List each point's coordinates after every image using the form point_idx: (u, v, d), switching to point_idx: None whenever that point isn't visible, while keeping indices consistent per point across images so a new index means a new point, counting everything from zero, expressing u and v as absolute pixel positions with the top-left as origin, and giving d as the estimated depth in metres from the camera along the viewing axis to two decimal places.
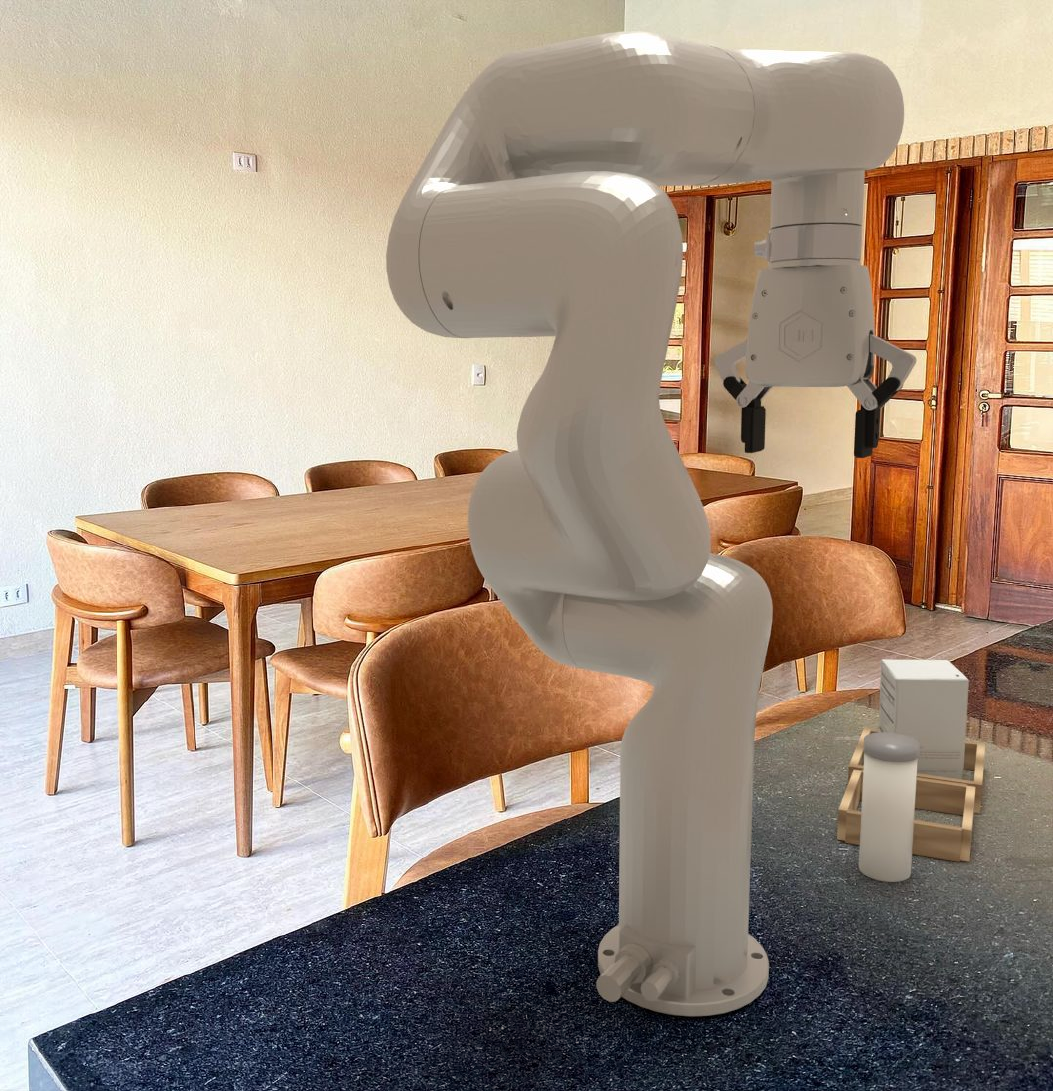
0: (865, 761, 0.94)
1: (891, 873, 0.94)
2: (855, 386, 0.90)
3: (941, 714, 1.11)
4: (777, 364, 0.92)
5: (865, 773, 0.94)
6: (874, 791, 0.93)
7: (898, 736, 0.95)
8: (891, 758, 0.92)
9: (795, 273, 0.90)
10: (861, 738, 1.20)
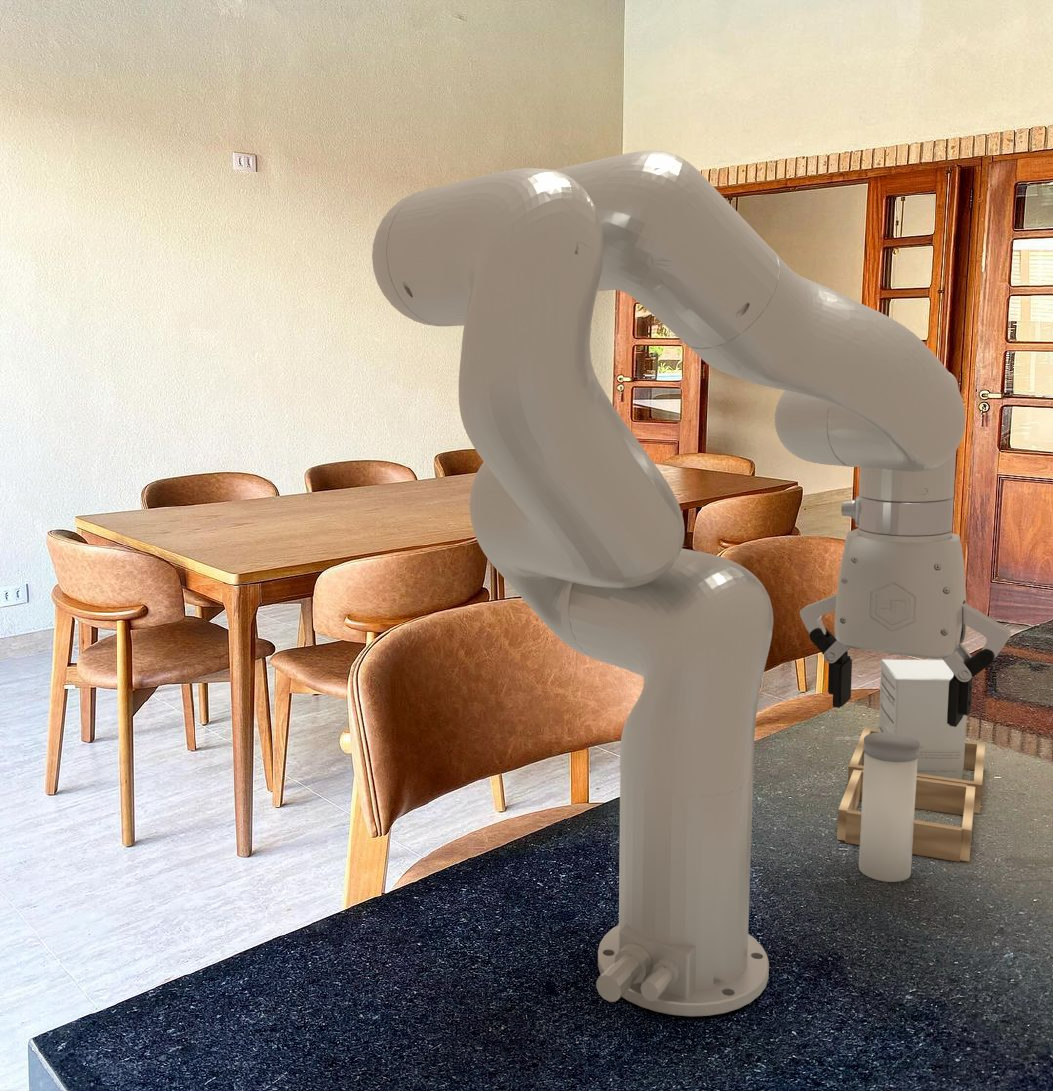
0: (865, 761, 0.94)
1: (891, 873, 0.94)
2: (948, 657, 0.90)
3: (941, 714, 1.11)
4: (868, 630, 0.91)
5: (865, 773, 0.94)
6: (874, 791, 0.93)
7: (898, 736, 0.95)
8: (892, 758, 0.92)
9: (887, 544, 0.89)
10: (861, 738, 1.20)
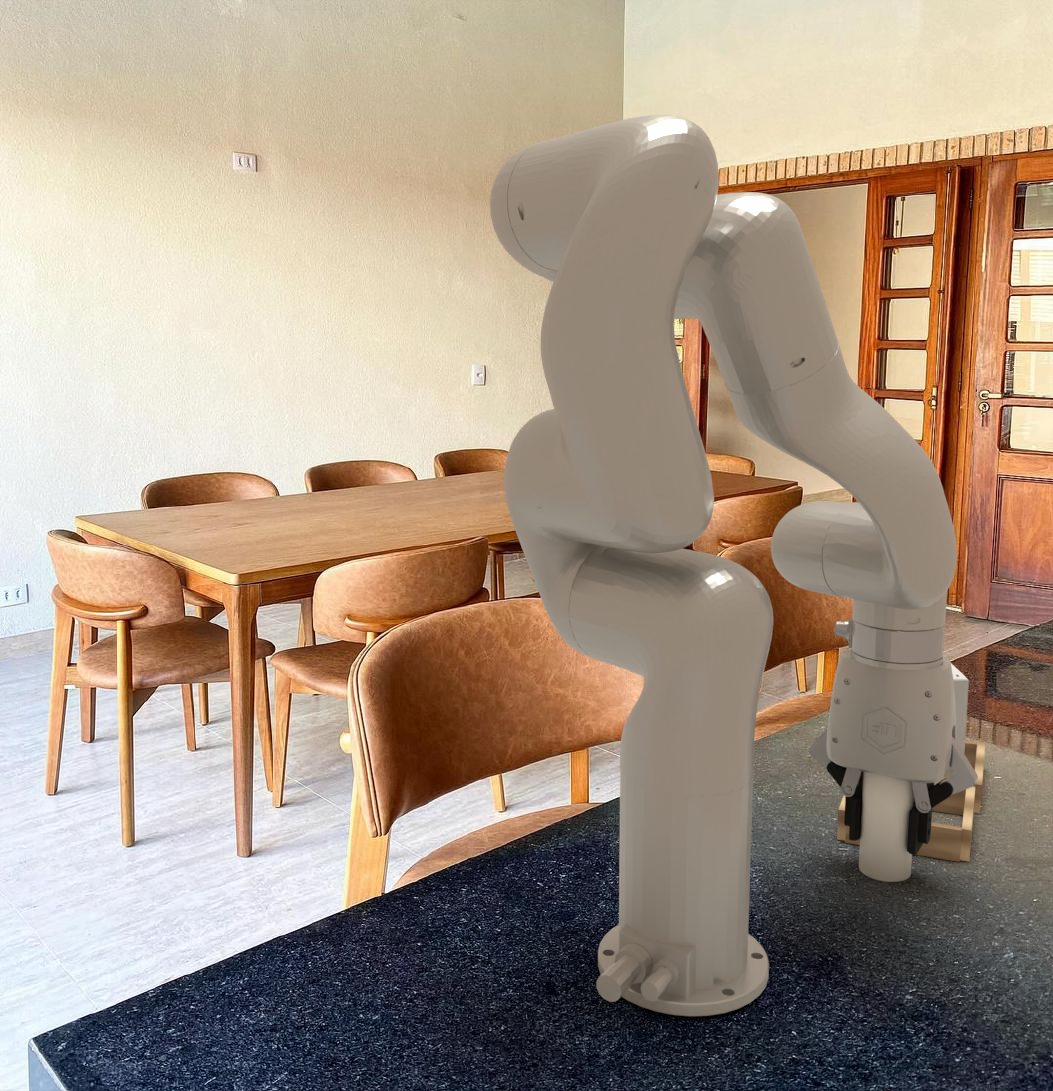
0: None
1: (891, 873, 0.94)
2: (918, 785, 0.92)
3: None
4: (859, 751, 0.93)
5: (865, 773, 0.94)
6: (874, 791, 0.93)
7: None
8: None
9: (879, 669, 0.91)
10: None
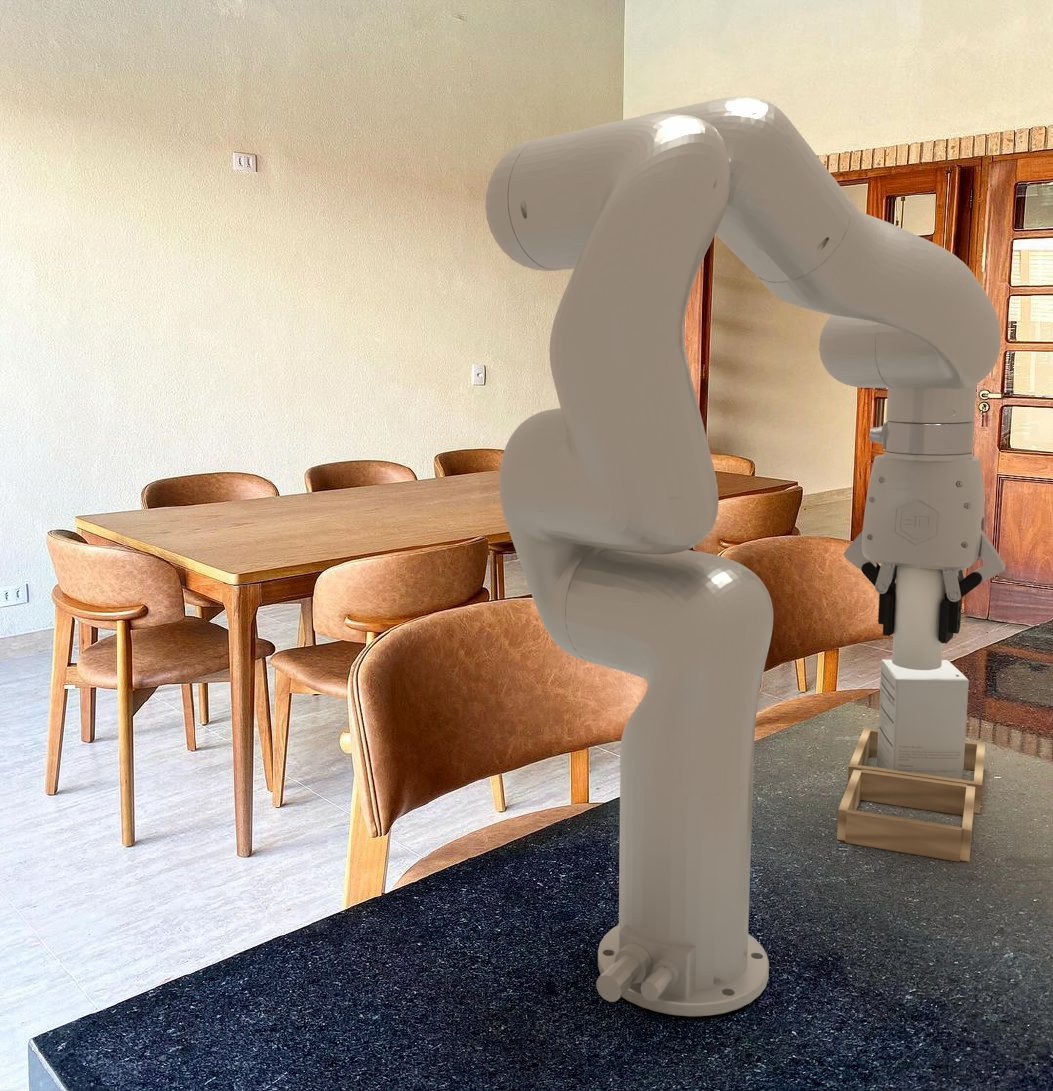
0: None
1: (923, 662, 1.00)
2: (949, 575, 0.98)
3: (941, 714, 1.11)
4: (893, 545, 0.99)
5: (898, 569, 1.00)
6: (908, 583, 0.99)
7: None
8: None
9: (912, 464, 0.97)
10: (861, 738, 1.20)
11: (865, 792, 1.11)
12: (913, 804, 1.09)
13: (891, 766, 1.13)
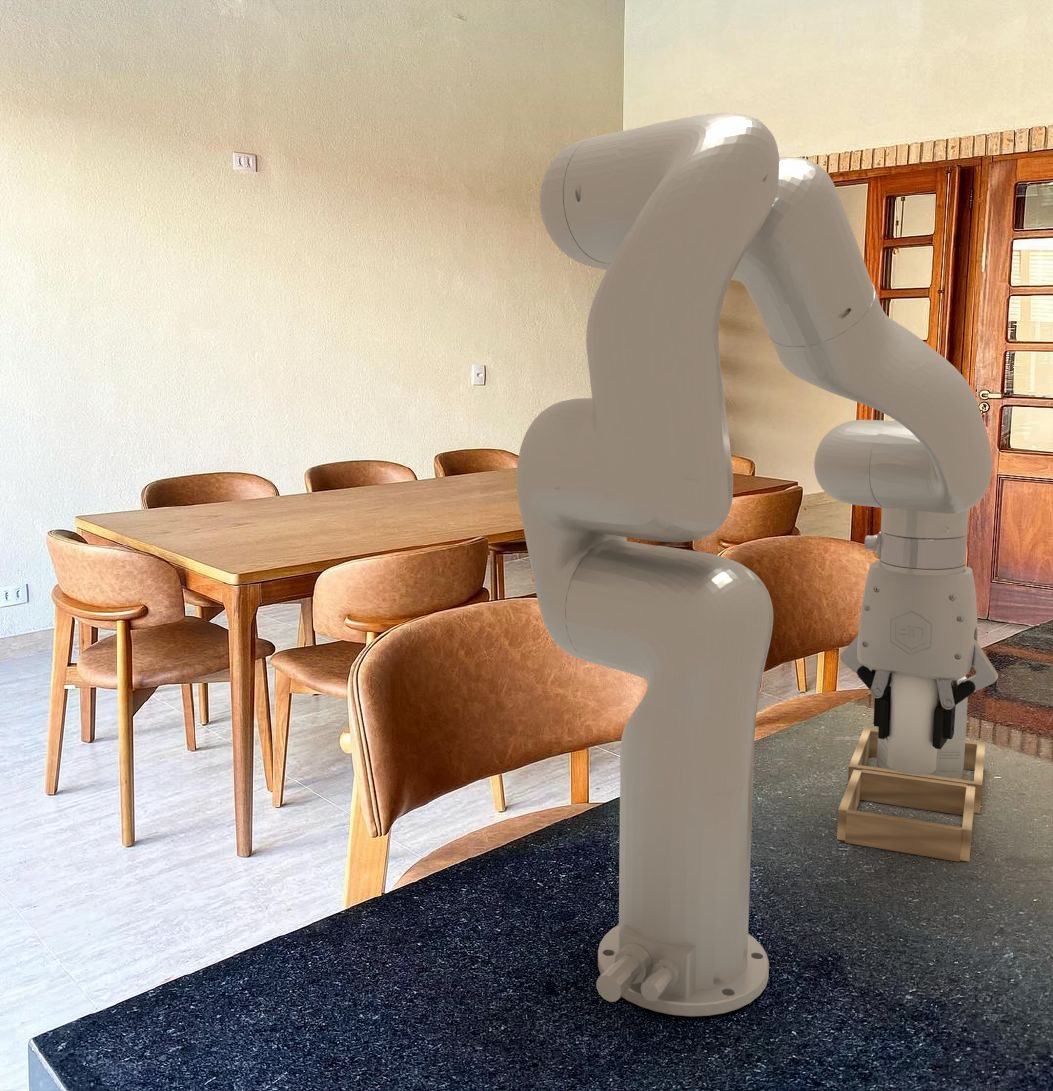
0: None
1: (918, 766, 1.02)
2: (943, 684, 1.00)
3: None
4: (888, 653, 1.01)
5: (893, 675, 1.02)
6: (902, 690, 1.01)
7: None
8: None
9: (906, 576, 0.99)
10: (861, 738, 1.20)
11: (865, 792, 1.11)
12: (913, 804, 1.09)
13: None
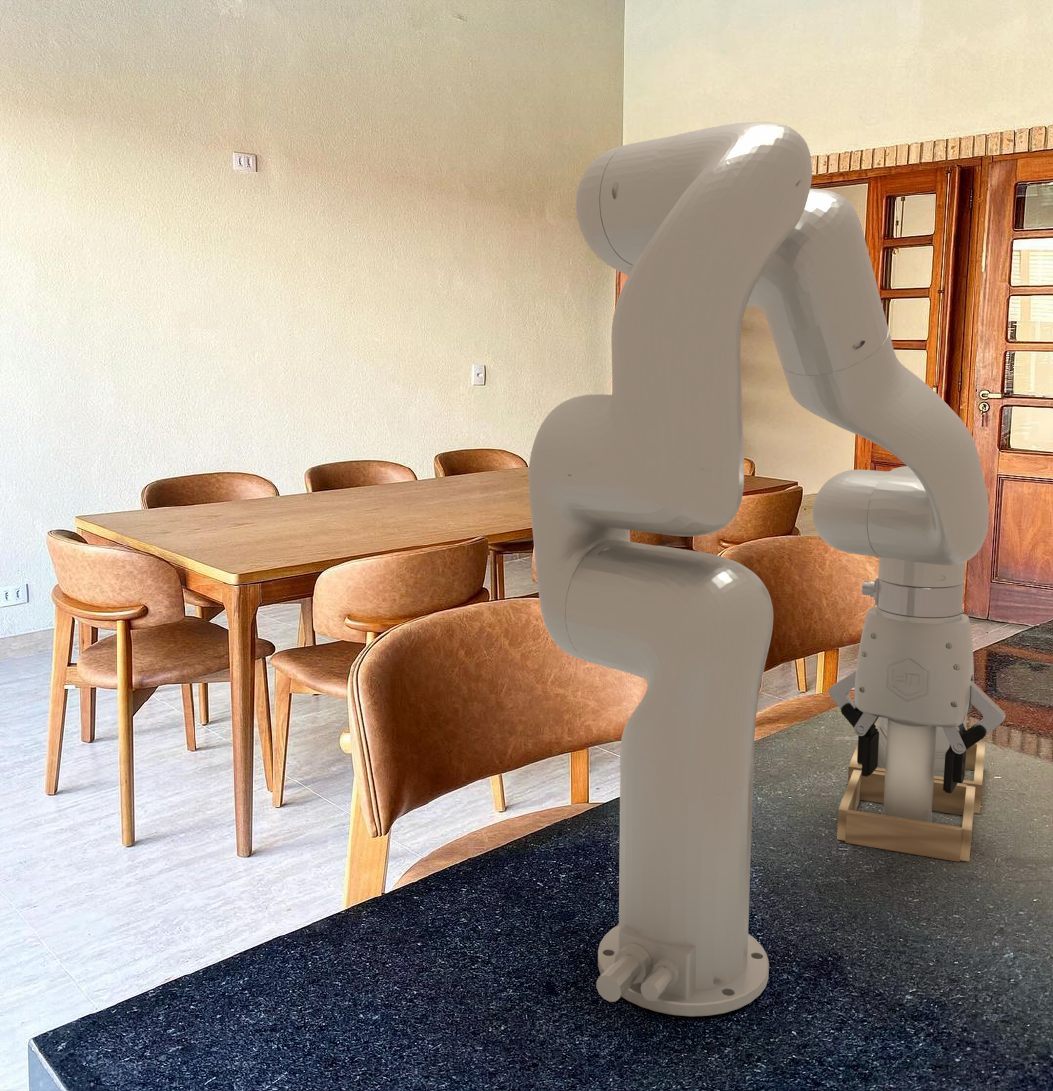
0: (889, 726, 1.03)
1: None
2: (949, 729, 1.00)
3: None
4: (885, 700, 1.01)
5: (889, 737, 1.03)
6: (897, 753, 1.02)
7: None
8: (913, 723, 1.01)
9: (903, 623, 0.99)
10: None
11: (865, 792, 1.11)
12: None
13: None
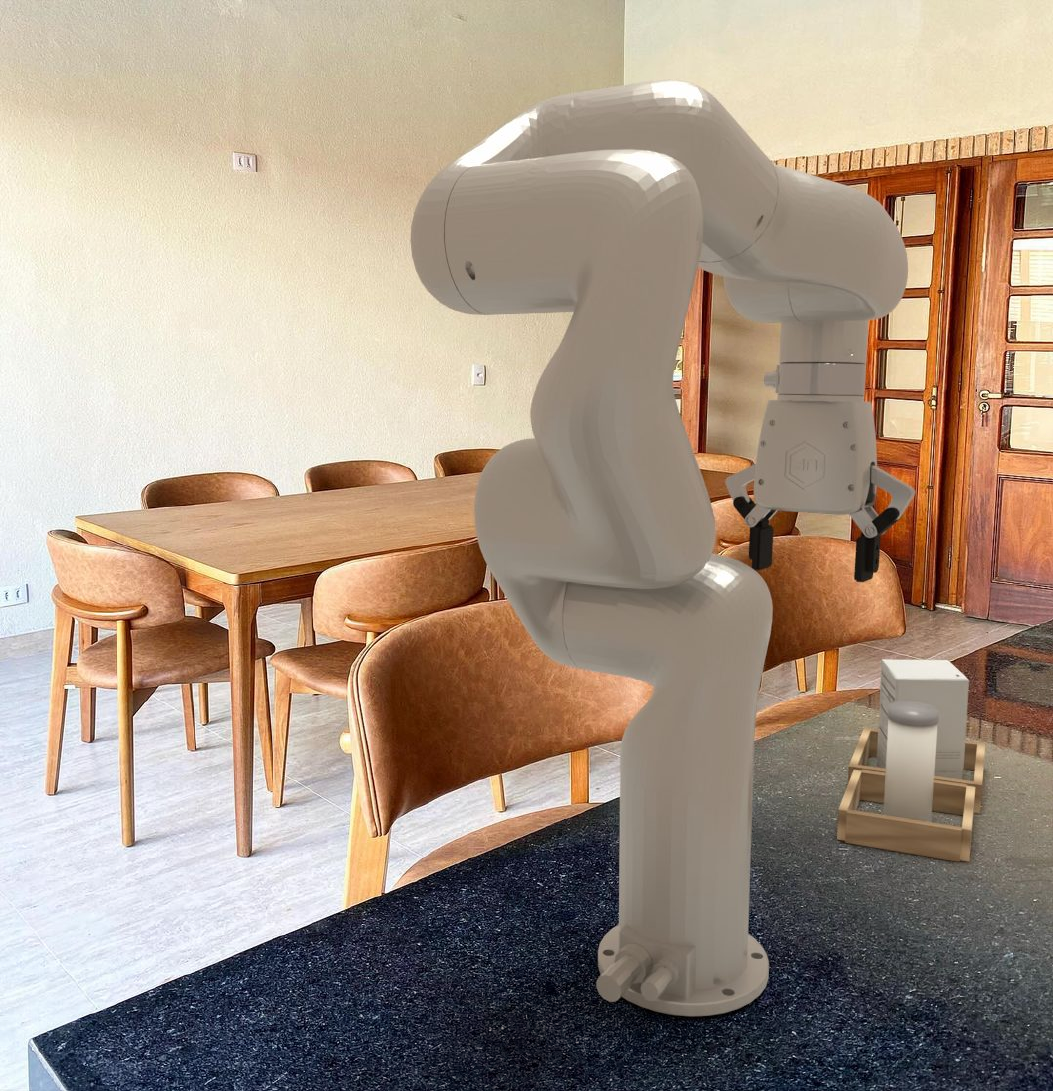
0: (889, 727, 1.03)
1: None
2: (856, 514, 0.95)
3: (941, 714, 1.11)
4: (783, 490, 0.97)
5: (889, 738, 1.03)
6: (898, 753, 1.02)
7: (919, 704, 1.04)
8: (914, 723, 1.01)
9: (801, 406, 0.95)
10: (861, 738, 1.20)
11: (865, 792, 1.11)
12: None
13: None
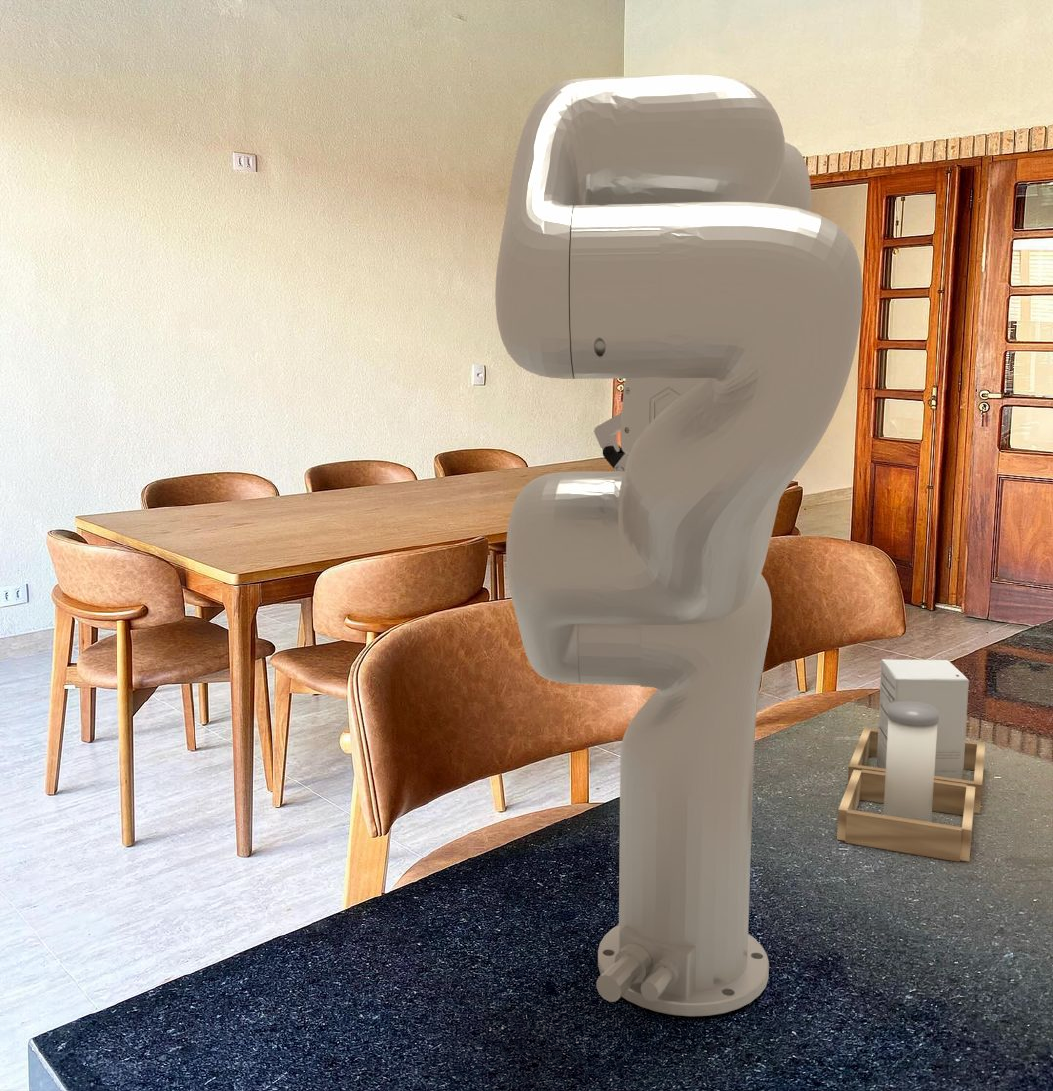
0: (889, 727, 1.03)
1: None
2: None
3: (941, 714, 1.11)
4: None
5: (889, 738, 1.03)
6: (898, 753, 1.02)
7: (919, 704, 1.04)
8: (914, 723, 1.01)
9: None
10: (861, 738, 1.20)
11: (865, 792, 1.11)
12: None
13: None
